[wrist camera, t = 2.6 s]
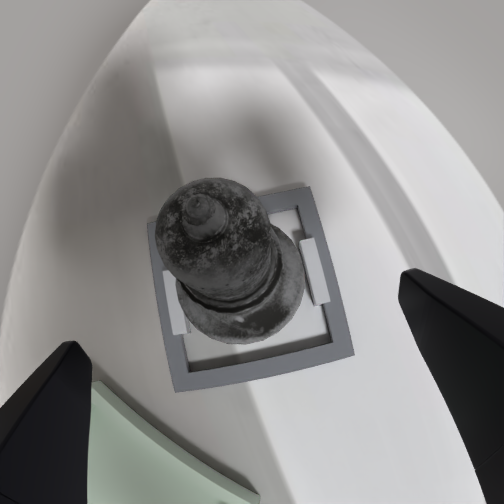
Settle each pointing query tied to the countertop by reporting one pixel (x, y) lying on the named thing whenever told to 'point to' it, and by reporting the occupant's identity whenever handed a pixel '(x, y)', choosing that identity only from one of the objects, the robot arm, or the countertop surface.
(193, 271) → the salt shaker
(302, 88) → the countertop surface
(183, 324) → the socket
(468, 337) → the robot arm
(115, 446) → the tray
